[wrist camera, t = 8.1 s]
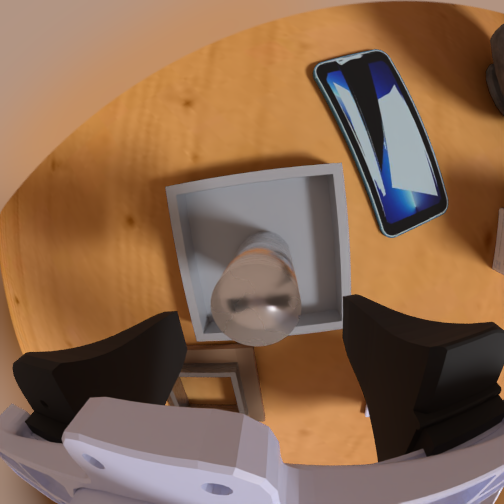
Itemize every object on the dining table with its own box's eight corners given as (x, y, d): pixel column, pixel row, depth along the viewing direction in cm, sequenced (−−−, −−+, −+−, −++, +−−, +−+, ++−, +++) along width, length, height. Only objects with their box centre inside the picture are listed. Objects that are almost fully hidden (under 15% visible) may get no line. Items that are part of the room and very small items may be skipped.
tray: (333, 165, 19) (341, 162, 17) (343, 312, 22) (350, 327, 19) (177, 186, 20) (165, 186, 18) (204, 326, 23) (196, 341, 21)
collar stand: (252, 342, 23) (250, 357, 21) (265, 416, 25) (264, 431, 23) (151, 345, 24) (141, 358, 22) (178, 414, 26) (173, 428, 24)
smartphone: (384, 242, 20) (308, 65, 17) (380, 239, 21) (307, 70, 18) (451, 210, 19) (384, 47, 15) (445, 208, 19) (380, 51, 16)
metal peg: (291, 231, 20) (303, 264, 11) (290, 283, 21) (298, 347, 12) (237, 231, 20) (207, 263, 12) (238, 282, 21) (213, 343, 12)
